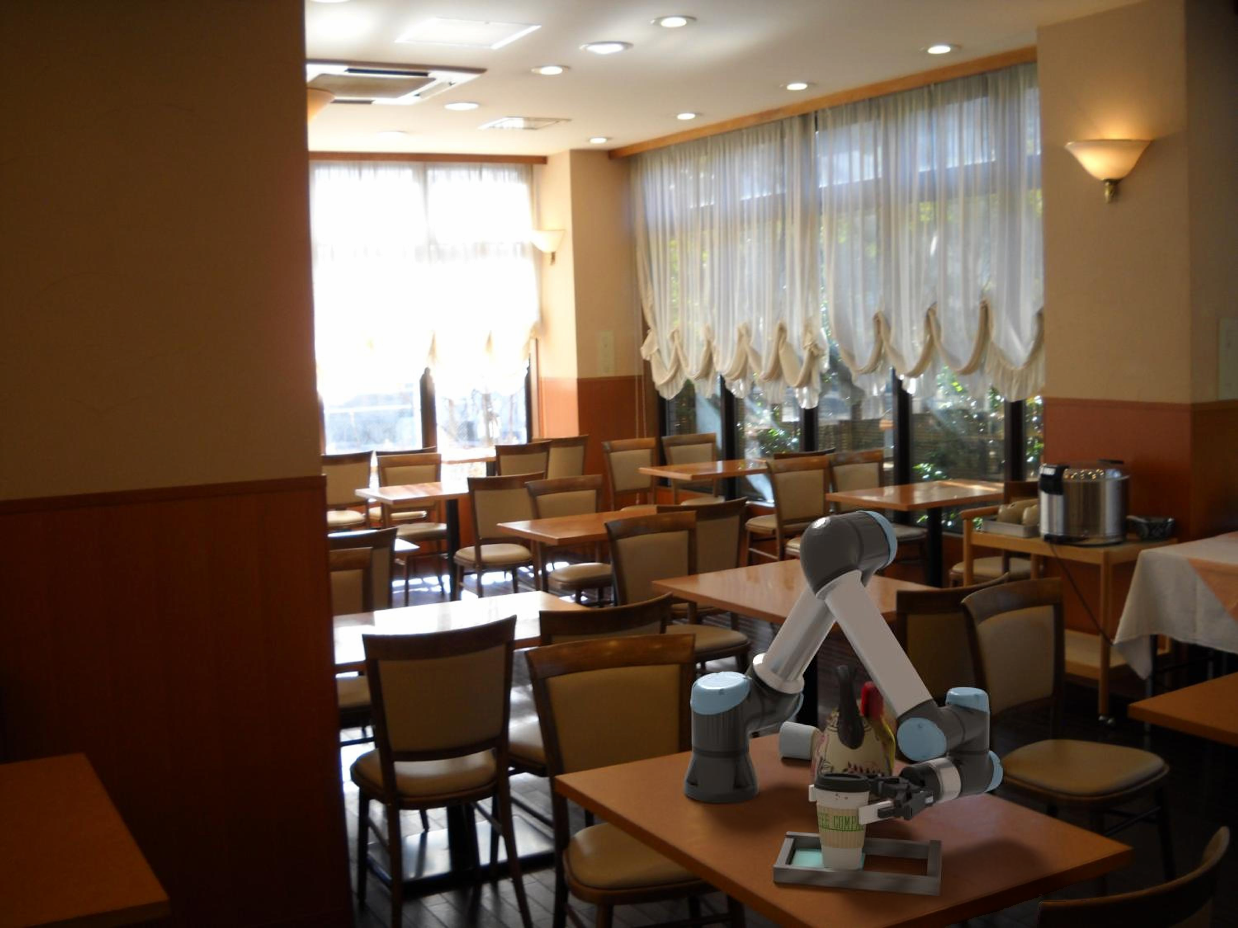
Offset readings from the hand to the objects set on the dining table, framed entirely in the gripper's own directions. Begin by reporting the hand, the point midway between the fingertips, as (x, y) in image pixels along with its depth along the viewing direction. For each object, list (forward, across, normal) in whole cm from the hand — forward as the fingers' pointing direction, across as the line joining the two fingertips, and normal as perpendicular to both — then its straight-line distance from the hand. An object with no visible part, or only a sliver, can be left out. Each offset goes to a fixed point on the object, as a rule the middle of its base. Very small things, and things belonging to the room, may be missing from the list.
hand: (834, 804), depth 222 cm
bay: (-2, -4, -11) cm, 11 cm away
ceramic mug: (-34, +54, -11) cm, 64 cm away
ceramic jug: (-17, +17, -11) cm, 26 cm away
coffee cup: (+1, -3, -10) cm, 10 cm away
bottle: (-37, +34, -11) cm, 52 cm away
